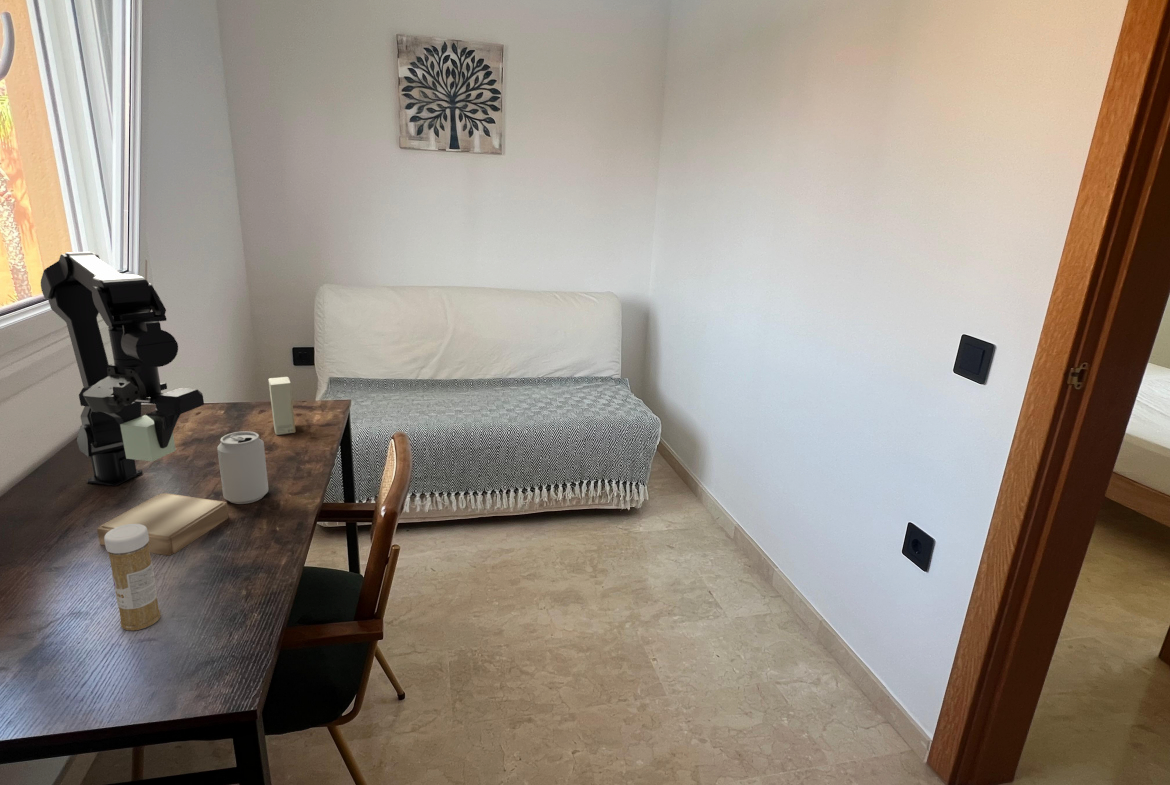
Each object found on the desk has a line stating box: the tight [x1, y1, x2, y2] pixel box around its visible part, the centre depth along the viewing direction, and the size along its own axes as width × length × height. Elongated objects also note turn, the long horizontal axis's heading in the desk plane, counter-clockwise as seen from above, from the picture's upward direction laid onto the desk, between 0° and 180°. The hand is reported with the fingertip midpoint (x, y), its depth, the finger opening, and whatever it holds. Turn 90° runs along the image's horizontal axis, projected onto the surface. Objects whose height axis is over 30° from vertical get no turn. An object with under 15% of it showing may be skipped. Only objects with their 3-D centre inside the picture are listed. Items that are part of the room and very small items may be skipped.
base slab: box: [96, 492, 230, 557], centre depth 109 cm, size 13×13×3 cm
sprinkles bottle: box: [104, 524, 162, 631], centre depth 85 cm, size 5×5×13 cm
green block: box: [120, 414, 176, 462], centre depth 111 cm, size 5×5×6 cm
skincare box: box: [268, 376, 296, 436], centre depth 153 cm, size 6×4×12 cm
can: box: [216, 430, 269, 505], centre depth 120 cm, size 8×8×12 cm
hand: (150, 446), depth 111 cm, fingers closed on green block, 5 cm apart
